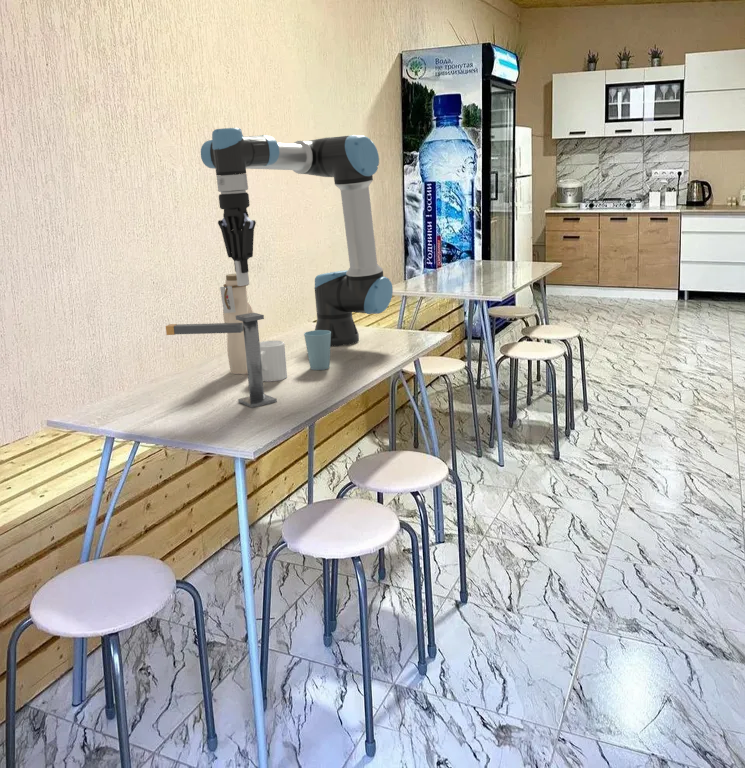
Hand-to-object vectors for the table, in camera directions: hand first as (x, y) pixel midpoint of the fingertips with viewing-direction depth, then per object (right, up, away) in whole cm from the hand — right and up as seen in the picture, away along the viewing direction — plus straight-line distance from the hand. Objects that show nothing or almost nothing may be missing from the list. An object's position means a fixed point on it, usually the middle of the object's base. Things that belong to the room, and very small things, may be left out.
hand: (243, 285), depth 205 cm
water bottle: (-4, -22, +23) cm, 32 cm away
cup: (+18, -21, +23) cm, 36 cm away
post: (+5, -30, -8) cm, 32 cm away
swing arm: (-7, -13, -12) cm, 19 cm away
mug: (+5, -25, +12) cm, 28 cm away
